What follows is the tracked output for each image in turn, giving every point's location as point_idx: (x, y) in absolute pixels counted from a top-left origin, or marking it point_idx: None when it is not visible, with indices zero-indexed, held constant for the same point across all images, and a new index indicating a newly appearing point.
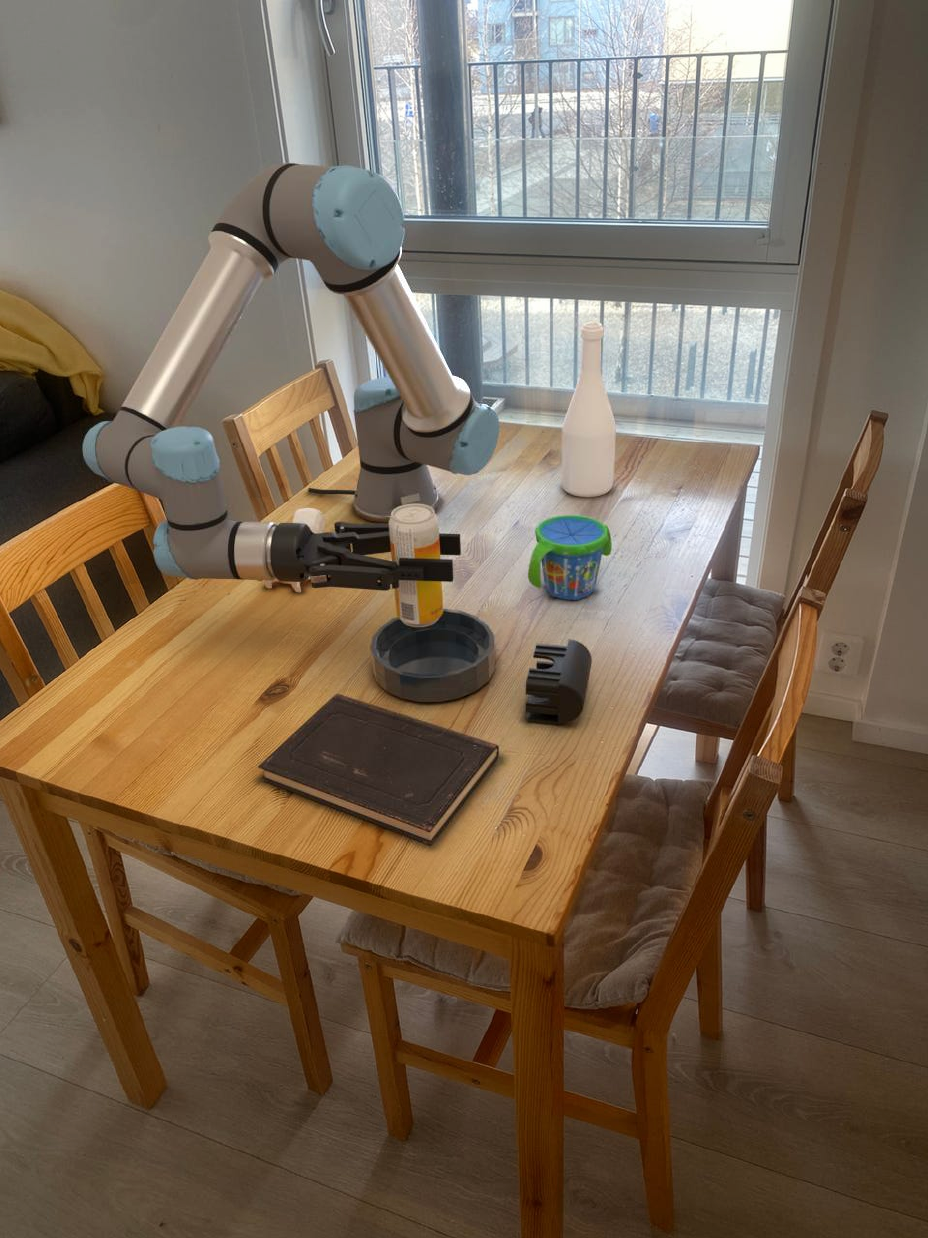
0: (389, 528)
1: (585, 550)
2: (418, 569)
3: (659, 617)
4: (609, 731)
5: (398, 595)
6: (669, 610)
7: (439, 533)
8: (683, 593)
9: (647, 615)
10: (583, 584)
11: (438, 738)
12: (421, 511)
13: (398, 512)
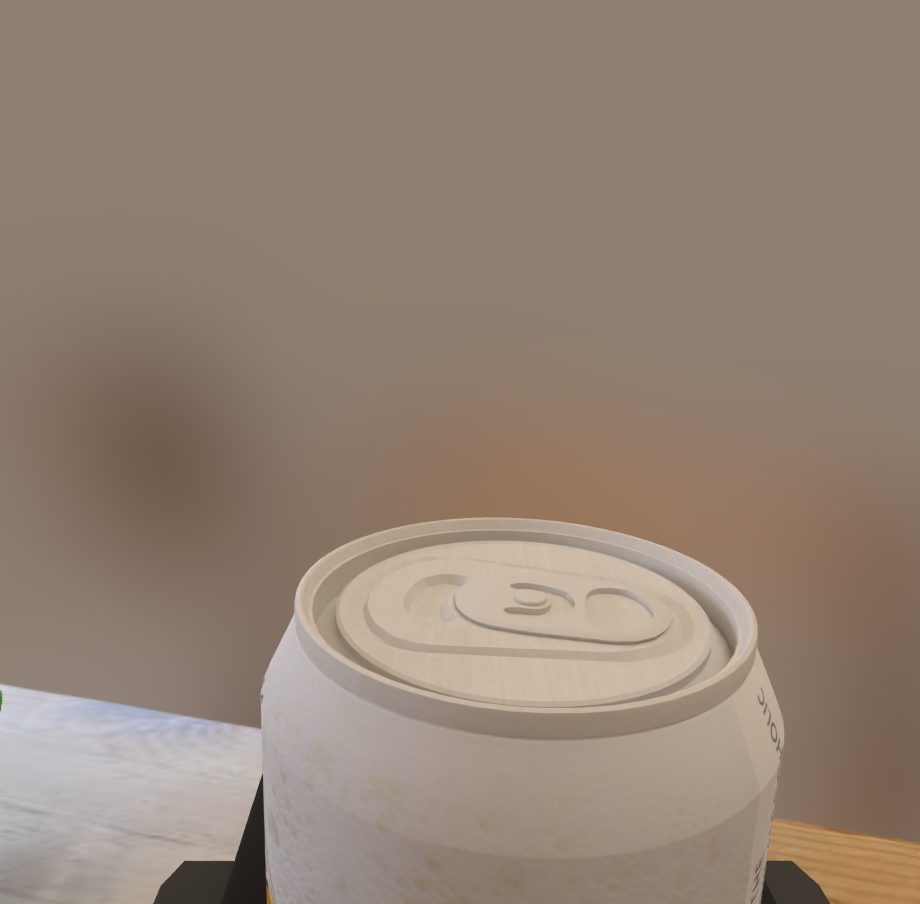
0: (681, 880)
1: (1, 695)
2: (801, 888)
3: (158, 742)
4: None
5: None
6: (130, 726)
7: (257, 793)
8: (59, 703)
9: (139, 760)
10: None
11: None
12: (449, 574)
13: (501, 688)
